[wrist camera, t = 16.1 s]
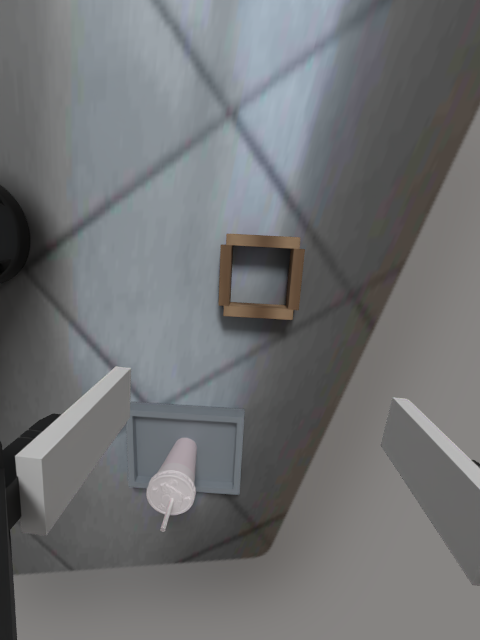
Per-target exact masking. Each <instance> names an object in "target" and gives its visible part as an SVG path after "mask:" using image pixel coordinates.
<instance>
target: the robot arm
mask: <svg viewBox="0 0 480 640" xmlns="http://www.w3.org/2000/svg"><path fill="white" fill-rule="evenodd" d="M29 247H30V235H29V228H28V224H27V221H26V218H25V216H24V213H23V211H22V209H21V208H20V206H19V204H18V203H17V201H16V200H15V199H14V198H13V196H12V195H11V194H10V193H9V192H8V191H7V190H6V189H5V188H3V187H2V186H1V185H0V283H3V282H5V281H7V280H9V279H11V278H12V277H14V276H15V275H16V274H17V273H18V272H19V271H20V270H21V268H22V267H23V265H24V263H25V261H26V259H27V256H28V252H29ZM130 387H131V368H124V367H115V368H114V369H112V370H111V371H110V372H109V373H108V374H107V375H106V376H105V377H103V378H102V379H101V380H100V381H99V382H98V383H97V384H96V385H94V386H93V387H92V388H91V389H90V390H89V391H88V392H87V393H85V394H84V395H83V396H82V397H81V398H80V399H79V400H78V401H76V402H75V403H74V404H73V405H72V406H71V407H70V408H69V409H67V410H66V411H65V412H64V413H63V414H62V415H61V414H51V415H49V416H47V417H45V418H43V419H41V420H39V421H38V422H37V423H35V424H34V425H33V426H32V427H30V428H29V430H27V431H26V432H24V433H23V434H22V435H21V436H20V438H17V439H16V440H15V441H13V442H12V443H11V444H10V445H9V446H7V447H6V448H5V449H4V450H3V451H2V444H1V442H0V640H17V632H16V616H15V599H14V583H13V567H12V551H11V536H10V529H11V528H12V527H13V526H14V524H15V523H16V522H17V521H18V520H19V519H20V520H21V531H22V533H27V534H36V535H44V536H46V535H47V534H48V533H49V531H50V530H51V528H52V527H53V525H54V524H55V523H56V521H57V520H58V518H59V517H60V516H61V514H62V513H63V511H64V510H65V508H66V507H67V506H68V504H69V503H70V501H71V500H72V499H73V497H74V496H75V494H76V493H77V491H78V490H79V489H80V487H81V486H82V484H83V483H84V482H85V480H86V479H87V477H88V476H89V474H90V473H91V472H92V470H93V469H94V467H95V466H96V465H97V463H98V462H99V460H100V459H101V457H102V456H103V455H104V453H105V452H106V450H107V449H108V448H109V446H110V445H111V443H112V442H113V440H114V439H115V438H116V436H117V435H118V433H119V432H120V431H121V429H122V428H123V426H124V425H125V424H126V422H127V421H128V419H129V418H130ZM381 447H382V448H383V450H384V451H385V453H386V454H387V456H388V457H389V459H390V460H391V462H392V463H393V465H394V466H395V468H396V469H397V471H398V472H399V474H400V476H401V477H402V479H403V480H404V481H405V483H406V485H407V486H408V488H409V489H410V491H411V492H412V494H413V495H414V497H415V498H416V500H417V501H418V503H419V504H420V506H421V507H422V509H423V510H424V512H425V514H426V515H427V517H428V518H429V520H430V521H431V523H432V524H433V526H434V527H435V529H436V530H437V532H438V533H439V535H440V536H441V538H442V539H443V541H444V543H445V544H446V546H447V547H448V549H449V550H450V552H451V553H452V555H453V556H454V558H455V559H456V561H457V562H458V564H459V565H460V567H461V568H462V570H463V571H464V573H465V574H466V576H467V578H468V579H469V580H470V582H471V584H472V585H477V586H480V464H479V463H478V462H476V461H475V460H471V459H470V458H468V456H467V455H466V454H464V453H463V452H462V451H461V450H460V449H459V448H458V447H457V446H456V445H455V444H454V443H453V442H452V441H451V440H450V439H449V438H448V437H447V436H446V435H445V434H444V433H443V432H442V431H441V430H440V429H438V428H437V427H436V426H435V425H434V424H433V423H432V422H431V421H430V420H429V419H428V418H427V417H426V416H425V415H424V414H423V413H422V412H421V411H420V410H419V409H418V408H417V407H416V406H415V405H414V404H412V403H411V401H410V400H408V399H403V398H394V397H393V398H392V402H391V406H390V410H389V415H388V418H387V422H386V426H385V430H384V434H383V438H382V442H381Z"/></svg>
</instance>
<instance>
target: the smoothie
mask: <svg viewBox="0 0 480 640" xmlns="http://www.w3.org/2000/svg"><path fill="white" fill-rule="evenodd" d="M196 455H197V445H196V443H195V442H194V441H193V440H192V439H189V438H180V439H178V440H177V441H176V443H175V444H174V446H173V448H172V449H171V451H170V453H169V454H168V456H167V458H166V459H165V461H164V463H163V464H162V466H161V468H160V469H159V471H158V472H157V474H155V475H154V476H153V477H152V478H151V480H150V482H149V485H148V488H147V493H146V494H147V499H148V502H149V503H150V505H151V506H152V507H153V508H154V509H155V510H157V511H158V512H160V513H162V514H165V517H164V520H163V523H162V526H161V529H160V530H161V531H162V532H164V531H165V529H166V526H167V522H168V519H169V516H170V515H179V514H182V513H184V512H186V511H187V510H189V509H190V507H191V506H192V504H193V502H194V499H195V495H196V488H195V485H194V482H195V468H196Z"/></svg>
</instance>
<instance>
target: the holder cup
mask: <svg viewBox="0 0 480 640" xmlns="http://www.w3.org/2000/svg"><path fill="white" fill-rule="evenodd" d="M233 245H237V246H255V247H274V248H291V252H290V263H289V274H288V285H287V296H286V305H271V304H254V303H237V302H230V299H231V277H232V255H233ZM299 247H300V238H299V237H281V236H262V235H243V234H227V239H226V245H221V254H220V281H219V306H224V313H223V316H234V317H251V318H268V319H285V320H292V319H293V310H299V302H300V292H301V282H302V272H303V262H304V252H305V249H299Z"/></svg>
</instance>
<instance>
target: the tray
mask: <svg viewBox="0 0 480 640" xmlns="http://www.w3.org/2000/svg"><path fill="white" fill-rule="evenodd" d="M243 428H244V409H236V408H220V407H205V406H189V405H174V404H158V403H142V402H131V403H130V418H129V419H128V421H127V422H126V434H127V458H128V481H129V487H133V488H148V485H149V482H150V480H151V478H152V477H153V476H154V475H155V474H157V472H158V471H159V469H160V468H161V466H162V464H163V463H164V461H165V459H166V458H167V456H168V454H169V453H170V451H171V449H172V448H173V446H174V444H175V443H176V441H177V440H178V439H180V438H189V439H192V440H193V441H194V442H195V443H196V445H197V455H196V468H195V482H194V485H195V488H196V492H205V493H220V494H234V495H239V492H240V476H241V460H242V444H243Z"/></svg>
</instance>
